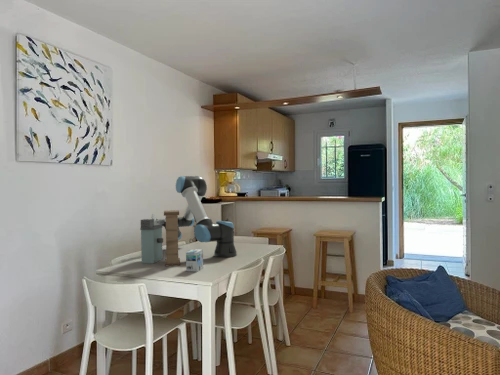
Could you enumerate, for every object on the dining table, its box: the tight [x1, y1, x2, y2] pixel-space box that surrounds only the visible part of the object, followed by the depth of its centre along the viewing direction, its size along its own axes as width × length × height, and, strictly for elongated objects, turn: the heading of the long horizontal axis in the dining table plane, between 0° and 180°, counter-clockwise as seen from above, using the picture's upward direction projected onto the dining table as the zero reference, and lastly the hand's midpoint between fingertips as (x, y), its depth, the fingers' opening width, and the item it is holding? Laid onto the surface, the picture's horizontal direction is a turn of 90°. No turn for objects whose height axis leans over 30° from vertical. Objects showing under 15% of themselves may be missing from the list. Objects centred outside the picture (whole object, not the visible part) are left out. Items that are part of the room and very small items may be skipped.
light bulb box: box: [185, 248, 204, 273], centre depth 210 cm, size 11×7×11 cm, turn 169°
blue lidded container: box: [139, 225, 164, 264], centre depth 238 cm, size 11×15×22 cm
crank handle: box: [140, 218, 166, 228], centre depth 242 cm, size 28×6×5 cm, turn 171°
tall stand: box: [163, 209, 181, 267], centre depth 230 cm, size 15×9×32 cm, turn 11°
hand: (161, 215), depth 255 cm, fingers open, 13 cm apart
